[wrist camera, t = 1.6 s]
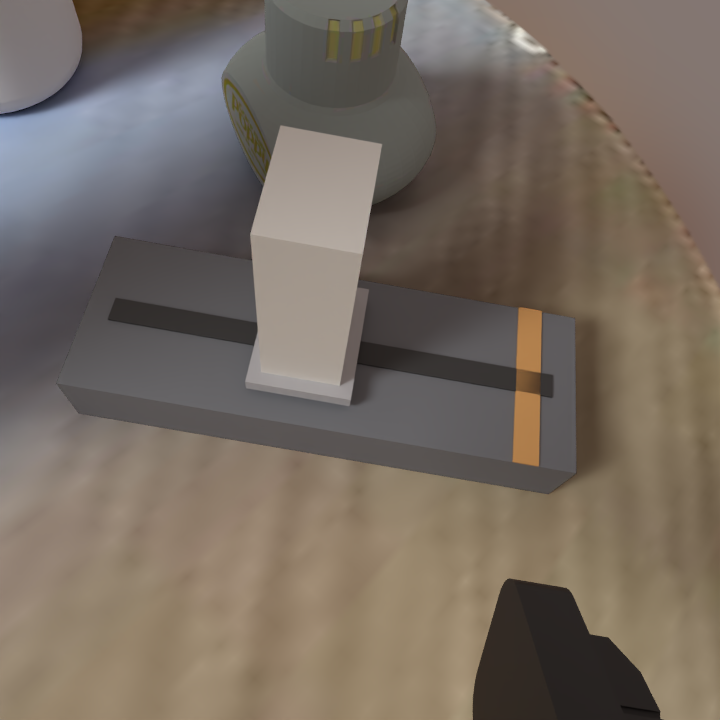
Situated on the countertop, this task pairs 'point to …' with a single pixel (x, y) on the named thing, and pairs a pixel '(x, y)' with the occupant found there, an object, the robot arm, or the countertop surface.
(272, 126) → the air freshener
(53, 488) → the countertop surface
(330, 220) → the fader tab
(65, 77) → the wine bottle
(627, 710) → the robot arm
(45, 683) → the countertop surface
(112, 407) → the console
